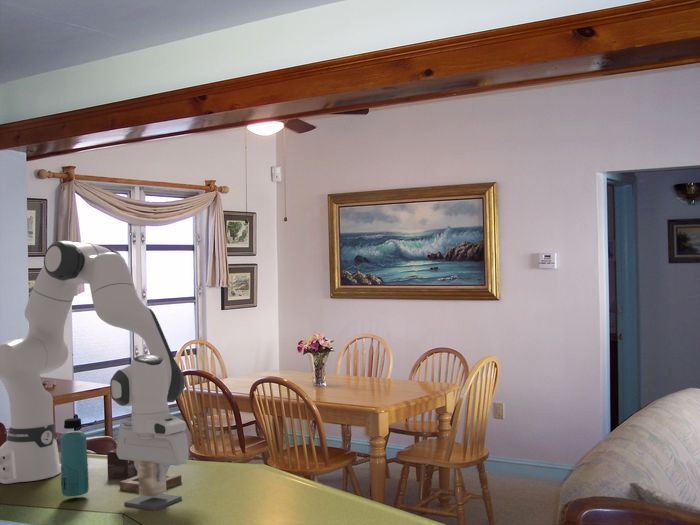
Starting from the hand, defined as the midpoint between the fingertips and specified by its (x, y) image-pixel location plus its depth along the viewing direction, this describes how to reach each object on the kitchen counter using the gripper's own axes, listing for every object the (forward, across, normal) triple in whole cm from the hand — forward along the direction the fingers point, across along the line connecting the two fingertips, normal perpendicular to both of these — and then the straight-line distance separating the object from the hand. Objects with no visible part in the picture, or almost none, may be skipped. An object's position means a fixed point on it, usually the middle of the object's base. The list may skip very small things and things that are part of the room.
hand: (152, 480), depth 182 cm
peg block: (+3, 0, 0) cm, 3 cm away
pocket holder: (+5, -11, +11) cm, 16 cm away
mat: (+5, 0, 0) cm, 5 cm away
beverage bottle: (+6, -21, -5) cm, 22 cm away
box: (+6, -26, +16) cm, 31 cm away
